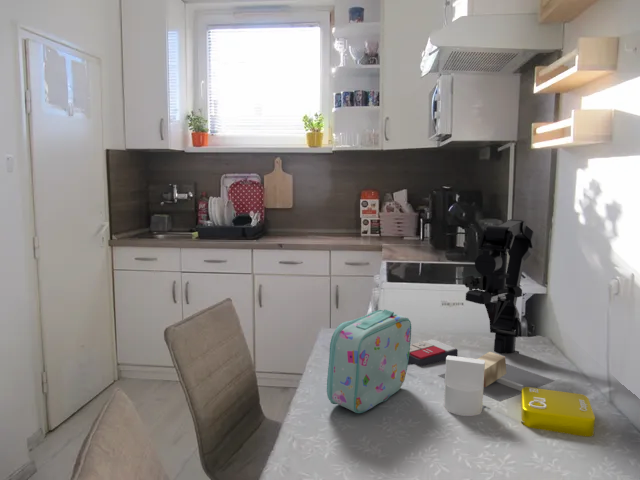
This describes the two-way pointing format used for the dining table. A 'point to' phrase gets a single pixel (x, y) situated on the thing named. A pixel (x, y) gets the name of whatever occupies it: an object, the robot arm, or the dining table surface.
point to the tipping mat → (512, 383)
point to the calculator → (430, 352)
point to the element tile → (557, 411)
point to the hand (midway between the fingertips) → (492, 322)
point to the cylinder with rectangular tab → (464, 385)
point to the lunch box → (368, 360)
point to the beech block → (493, 367)
